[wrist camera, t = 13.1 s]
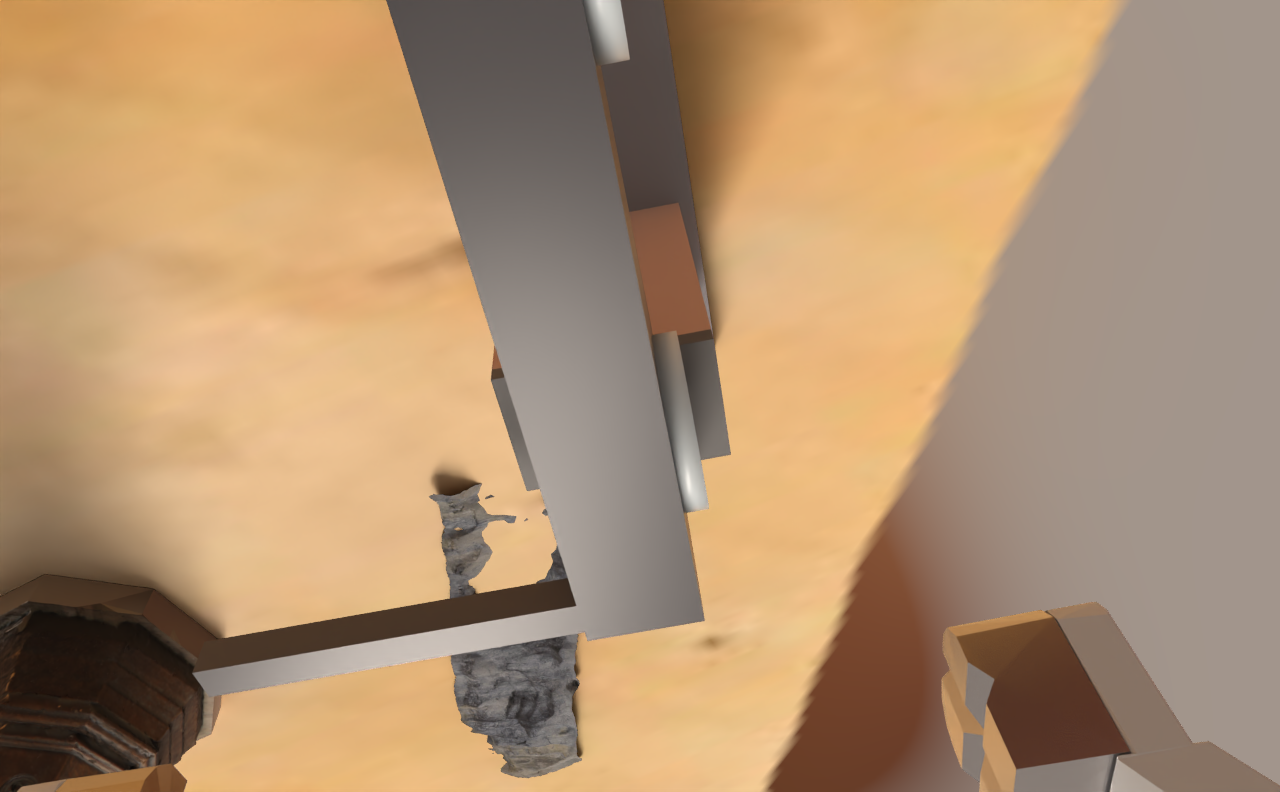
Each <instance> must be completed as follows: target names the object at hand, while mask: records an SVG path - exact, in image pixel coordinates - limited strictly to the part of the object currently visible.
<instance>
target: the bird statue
mask: <svg viewBox="0 0 1280 792" xmlns="http://www.w3.org/2000/svg"><path fill="white" fill-rule="evenodd" d="M212 640H217V638H215V637H214V636H213V635H212V634H210V633H209V632H208V631H207V630H205V629H204V628H203V627H201V626H200V625H199V624H198V623H196V622H195V621H194V620H193V619H191V618H190V617H189V616H187V615H186V614H185V613H184V612H182V611H181V610H180V609H179V608H177V607H176V606H175V605H173V604H172V603H171V602H170V601H168V600H167V599H166V598H165V597H163V596H162V595H161V594H160V593H158V592H157V591H156V590H154V589H150V588H142V587H135V586H128V585H120V584H113V583H105V582H98V581H91V580H83V579H76V578H69V577H61V576H54V575H46V574H45V575H43V576H41V577H39V578H37V579H35V580H33V581H31V582H29V583H27V584H25V585H23V586H21V587H19V588H17V589H15V590H13V591H11V592H9V593H7V594H5V595H3V596H1V597H0V792H17V791H18V790H19V789H20V788H21V787H23V786H29V785H35V784H41V783H47V782H53V781H59V780H65V779H71V778H79V777H86V776H92V775H99V774H106V773H112V772H119V771H125V770H132V769H139V768H145V767H152V766H158V765H165V764H172V765H175V764H176V763H178V762H179V761H180V760H181V757H182V755H183V754H184V753H185V752H186V751H188V750H189V749H190V748H192V747H193V746H194V745H196V741H197V740H199V739H202V738H204V737H206V736H208V735H210V734H212V731H213V728H214V725H215V722H216V719H217V716H218V713H219V711H220V706H221V695H219V696H213V697H209V696H208V694H207V693H206V692H205V690H204V689H203V687H202V686H201V685H200V683H199V682H198V681H197V679H196V678H195V676H194V675H193V674H192V672H193V669H194V667H195V664H196V662H197V659H198V657H199V654H200V652H201V649H202V646H203V644H204V642H206V641H212Z"/></svg>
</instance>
